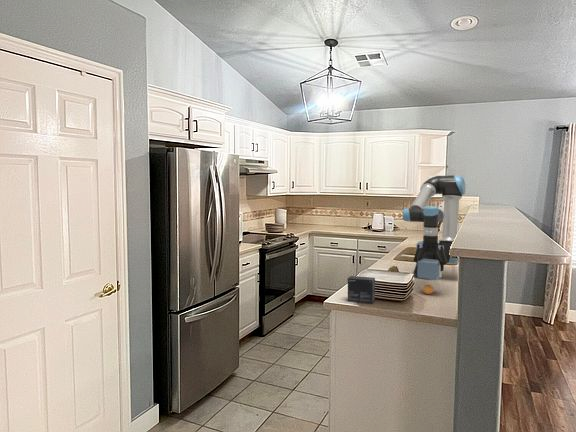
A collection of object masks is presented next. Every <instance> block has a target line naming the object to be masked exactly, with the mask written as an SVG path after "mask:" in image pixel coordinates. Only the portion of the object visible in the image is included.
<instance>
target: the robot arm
mask: <svg viewBox="0 0 576 432" xmlns="http://www.w3.org/2000/svg"><path fill="white" fill-rule="evenodd" d="M465 194H466V183H465V179H464V177H463V176H462V175H456V174H454V175H435V176H432V177H430V178H428V179H427V180H425V181H424V182H423V183H422V185H421V186H420V190H419V193H418V194H417V196H416V197H415V199H414V200H413V203H412V204H411V206H410V207H409V208H408V207H407V208H404V209H402V220H403V221H404V222H409V223H411V222H413V223H423V233H422V234H423V236H422V237H423V238H422V240H420V241H418V242H417V243H416V249H415V250H416V251H415V254H414V257H413V262H415V267H414V269H413V272H412V275H413V274H414V276H413V278H416V279H418V278H417V271H418V261H420V260H422V259H433V260H438V261H439V263H440V265H439V277H440V278H442V277H443V272H444V269H445V268H444V267H445V265H447V264H457V263H458V262H459V261H458V259H457V258H450V255H449V250H450V246H451V244H452V242H453V240H454V238H455V236H456V234H457V235H458V227H459V226H458V225H459V224H458V223H459V207H460V200H461V199H462V198H463V195H465ZM435 195H441V197H442V199H443V210H442V209H440V208H439V207H438V206H435V205H434V206H433V205H432V206H431V205H430V206H429V205H428V204H429V201H430V200H431V199H432V197H434V196H435ZM427 205H428V206H427ZM441 222H442V233H441V238H440V239H439V236H438V235H439V223H441ZM419 279H422V280H426V279H425V278H419Z"/></svg>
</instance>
